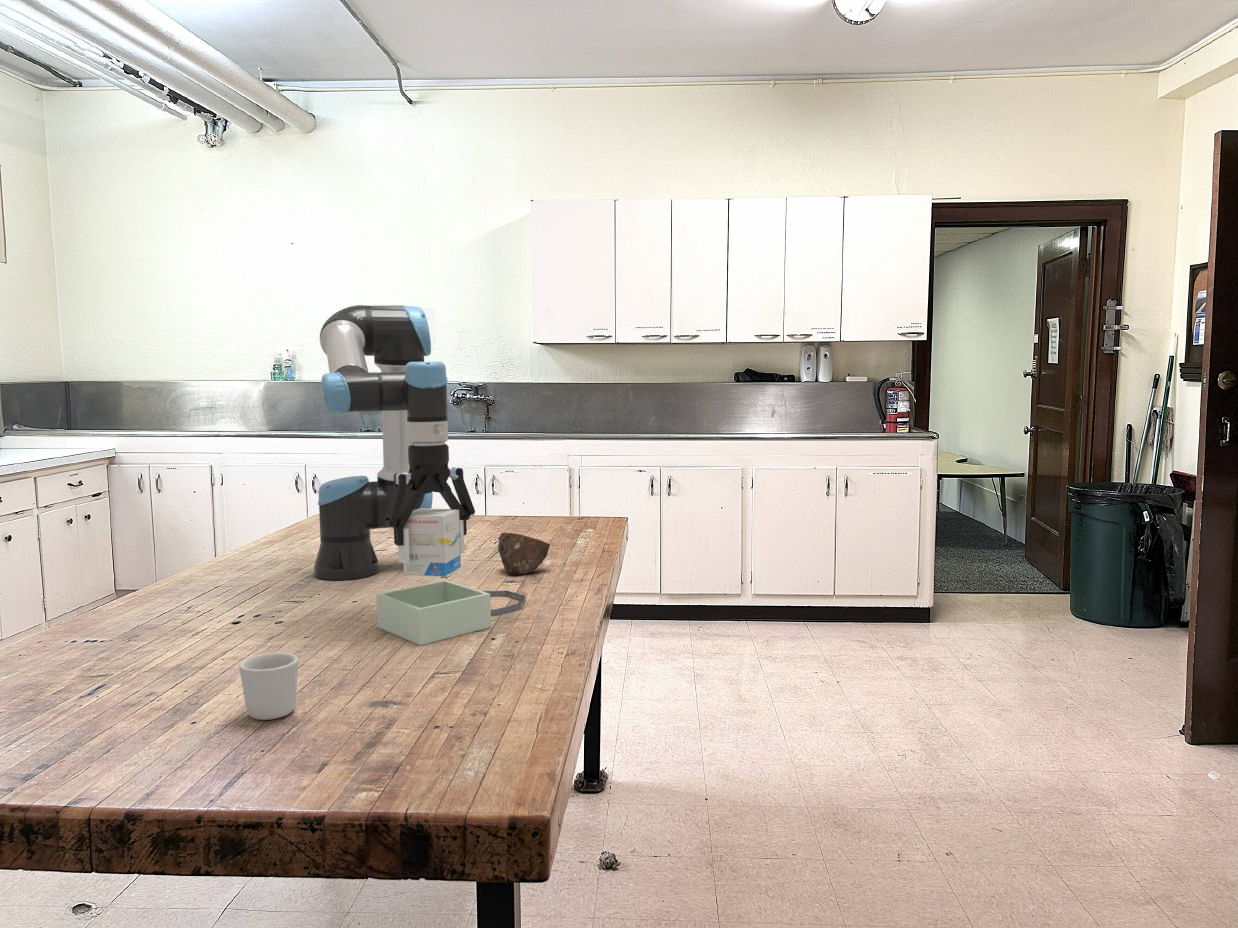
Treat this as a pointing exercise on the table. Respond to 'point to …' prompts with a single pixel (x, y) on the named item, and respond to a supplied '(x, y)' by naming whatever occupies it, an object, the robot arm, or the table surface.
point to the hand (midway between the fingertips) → (432, 557)
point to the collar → (508, 608)
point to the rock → (521, 553)
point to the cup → (269, 684)
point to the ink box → (433, 542)
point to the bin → (433, 611)
